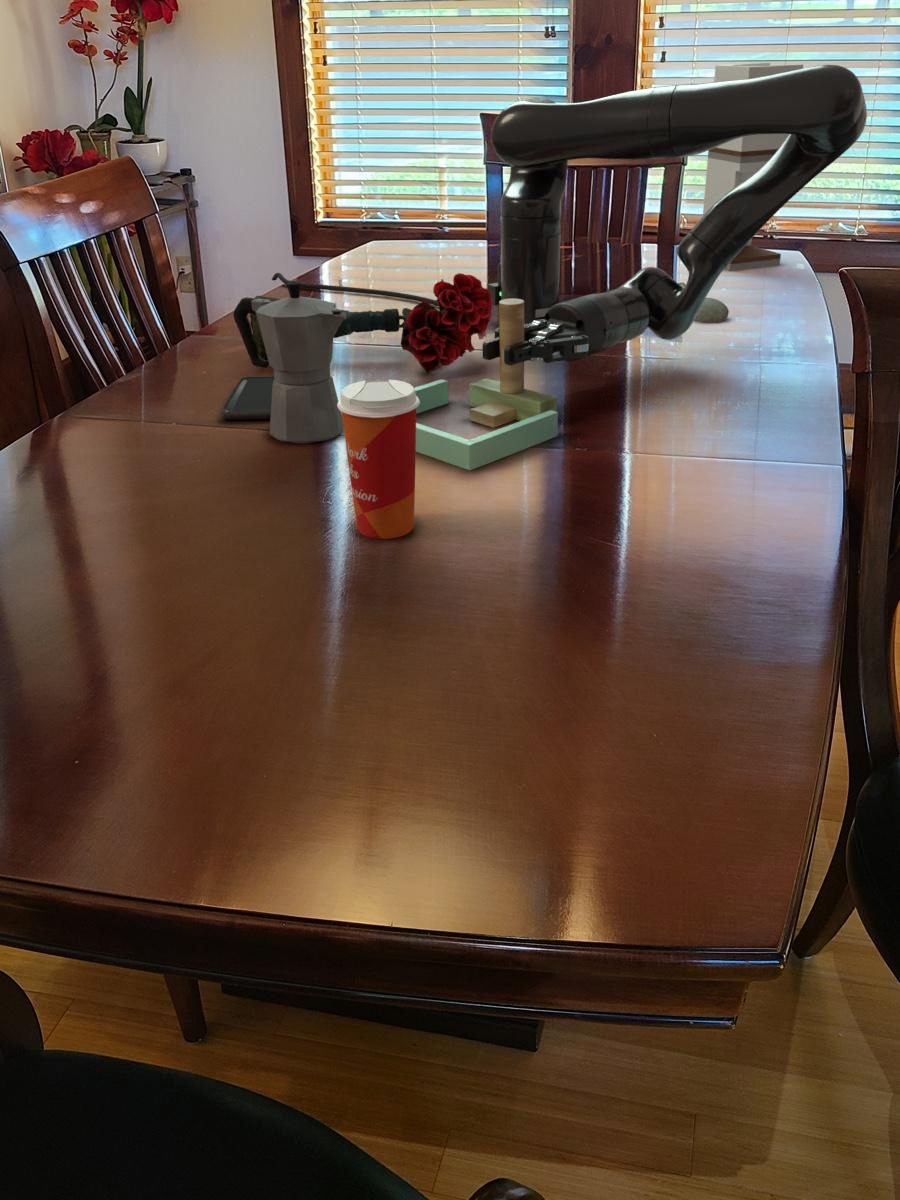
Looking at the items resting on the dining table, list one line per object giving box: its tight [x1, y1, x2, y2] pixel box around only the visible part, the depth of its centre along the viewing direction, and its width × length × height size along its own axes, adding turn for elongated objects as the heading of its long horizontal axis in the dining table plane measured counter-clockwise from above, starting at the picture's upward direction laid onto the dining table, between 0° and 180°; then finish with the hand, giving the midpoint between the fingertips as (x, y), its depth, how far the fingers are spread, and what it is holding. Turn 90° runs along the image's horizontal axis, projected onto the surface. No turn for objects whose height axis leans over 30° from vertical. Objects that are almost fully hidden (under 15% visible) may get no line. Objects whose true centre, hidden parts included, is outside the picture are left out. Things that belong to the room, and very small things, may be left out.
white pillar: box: [702, 62, 804, 272], centre depth 204 cm, size 11×11×35 cm
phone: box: [221, 375, 275, 421], centre depth 142 cm, size 8×1×15 cm
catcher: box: [413, 378, 559, 471], centre depth 129 cm, size 15×20×3 cm
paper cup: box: [337, 379, 420, 540], centre depth 103 cm, size 8×8×14 cm
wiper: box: [469, 298, 557, 422], centre depth 132 cm, size 3×12×14 cm, turn 45°
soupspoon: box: [677, 282, 730, 323], centre depth 182 cm, size 22×3×7 cm
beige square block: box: [469, 402, 516, 428], centre depth 133 cm, size 4×4×2 cm
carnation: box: [249, 272, 493, 373], centre depth 154 cm, size 16×18×35 cm
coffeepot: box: [232, 280, 347, 444], centre depth 128 cm, size 15×9×18 cm, turn 65°
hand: (495, 354), depth 130 cm, fingers closed on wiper, 3 cm apart
